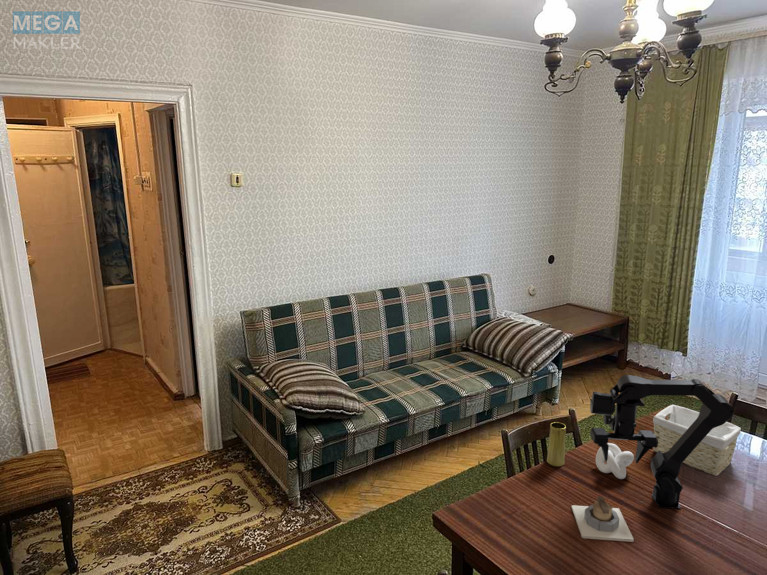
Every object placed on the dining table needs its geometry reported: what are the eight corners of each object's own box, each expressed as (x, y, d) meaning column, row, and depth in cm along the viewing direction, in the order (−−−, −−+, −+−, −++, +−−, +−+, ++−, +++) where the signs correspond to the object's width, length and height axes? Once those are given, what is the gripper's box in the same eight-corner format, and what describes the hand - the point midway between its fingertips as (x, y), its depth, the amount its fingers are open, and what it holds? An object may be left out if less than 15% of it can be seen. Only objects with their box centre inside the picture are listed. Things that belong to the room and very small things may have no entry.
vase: (565, 467, 188) (568, 430, 185) (547, 465, 189) (549, 428, 186) (563, 458, 194) (566, 422, 190) (545, 456, 195) (548, 420, 192)
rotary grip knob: (613, 529, 155) (615, 510, 154) (595, 527, 156) (597, 509, 154) (606, 514, 161) (608, 496, 160) (589, 513, 162) (591, 495, 160)
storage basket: (737, 464, 189) (743, 425, 186) (719, 481, 179) (725, 441, 176) (667, 437, 207) (671, 402, 204) (647, 452, 198) (651, 415, 194)
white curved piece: (586, 470, 186) (588, 447, 184) (605, 458, 193) (607, 436, 191) (618, 485, 177) (620, 461, 175) (636, 472, 185) (638, 448, 183)
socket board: (618, 510, 165) (619, 501, 164) (633, 541, 151) (634, 532, 150) (571, 507, 166) (572, 498, 166) (582, 538, 153) (582, 528, 152)
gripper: (648, 406, 172) (643, 450, 176) (587, 403, 175) (584, 446, 178) (661, 422, 162) (655, 468, 165) (596, 419, 164) (592, 465, 167)
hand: (620, 461), depth 169 cm, fingers open, 9 cm apart
